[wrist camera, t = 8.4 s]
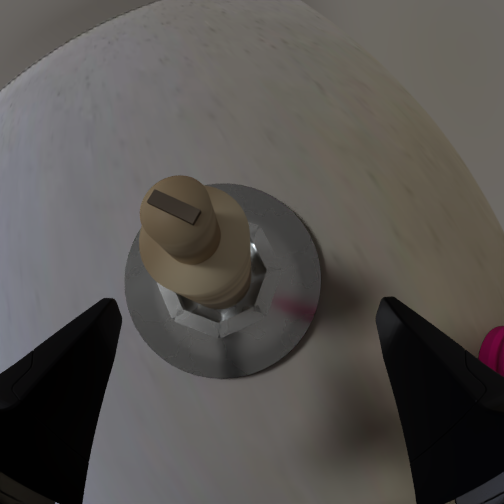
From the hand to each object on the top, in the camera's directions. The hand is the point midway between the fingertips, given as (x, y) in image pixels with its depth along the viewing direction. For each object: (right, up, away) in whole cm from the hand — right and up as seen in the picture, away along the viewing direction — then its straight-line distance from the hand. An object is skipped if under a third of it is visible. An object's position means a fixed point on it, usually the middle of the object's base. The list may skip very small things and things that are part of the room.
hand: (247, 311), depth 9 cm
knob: (-2, 0, +12) cm, 12 cm away
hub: (-2, 0, +13) cm, 13 cm away
